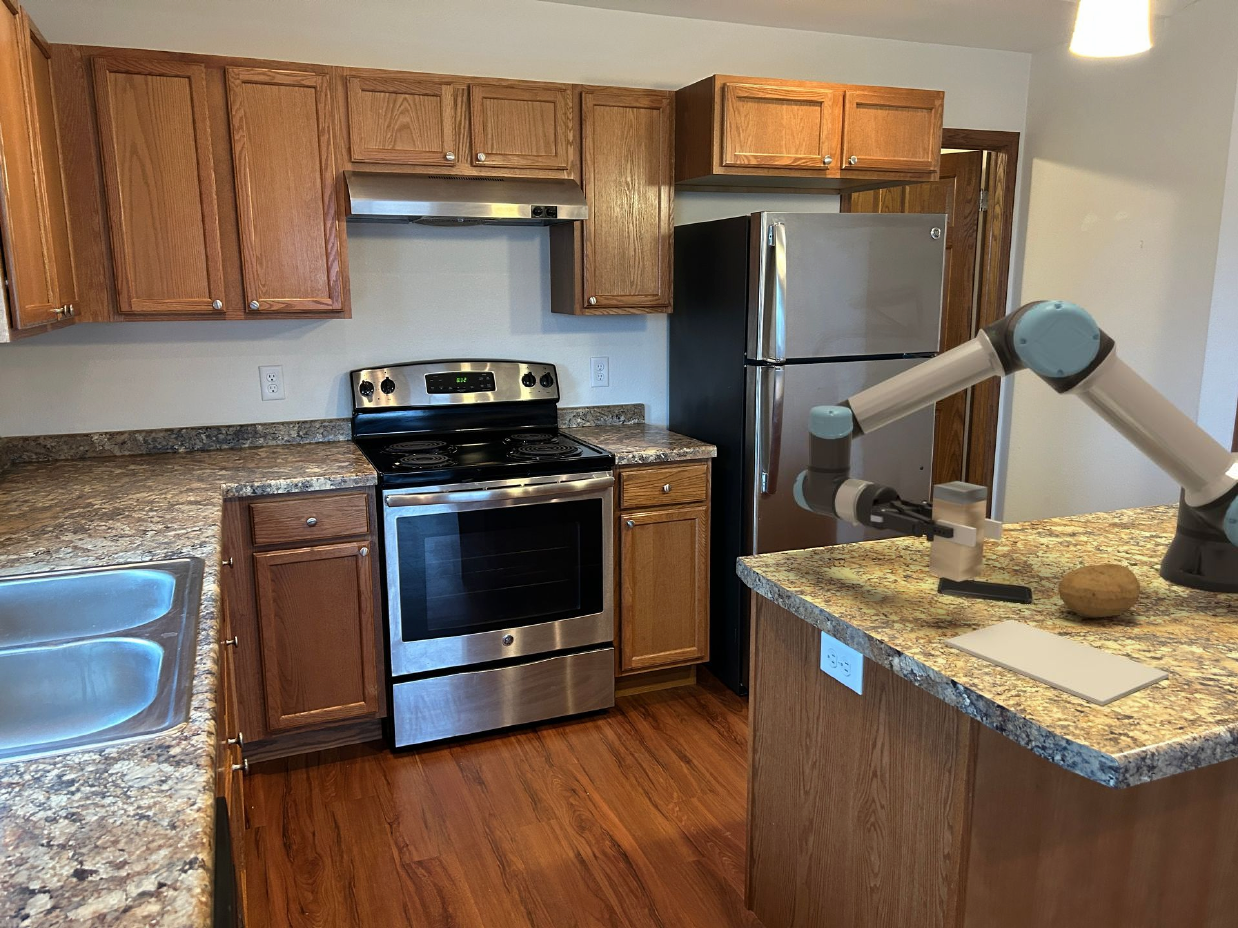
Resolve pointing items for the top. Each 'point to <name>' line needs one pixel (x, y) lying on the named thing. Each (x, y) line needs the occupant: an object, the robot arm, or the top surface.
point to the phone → (985, 590)
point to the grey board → (1058, 661)
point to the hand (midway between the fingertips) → (987, 534)
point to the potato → (1099, 590)
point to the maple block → (965, 509)
